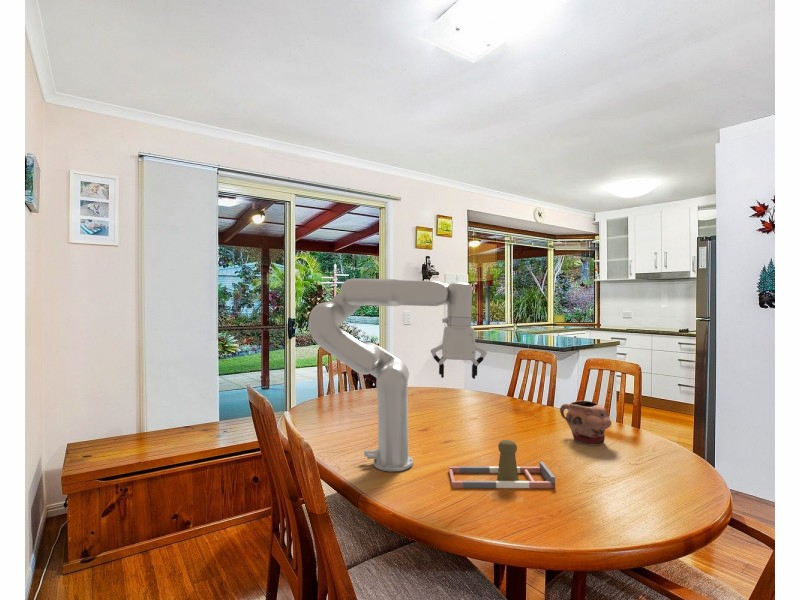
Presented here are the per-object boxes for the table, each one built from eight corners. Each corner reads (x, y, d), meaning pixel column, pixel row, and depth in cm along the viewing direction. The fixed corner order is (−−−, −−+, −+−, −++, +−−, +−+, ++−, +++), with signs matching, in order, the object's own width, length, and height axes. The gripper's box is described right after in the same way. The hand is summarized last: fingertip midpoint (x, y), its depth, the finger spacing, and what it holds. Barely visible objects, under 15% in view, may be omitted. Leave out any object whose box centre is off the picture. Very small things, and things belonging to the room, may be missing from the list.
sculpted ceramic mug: (549, 437, 158) (549, 399, 158) (567, 430, 165) (567, 395, 165) (603, 452, 142) (602, 410, 142) (620, 444, 149) (620, 404, 149)
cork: (503, 485, 118) (503, 445, 118) (493, 476, 124) (493, 438, 124) (522, 482, 119) (522, 443, 119) (512, 474, 125) (511, 436, 125)
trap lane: (452, 487, 117) (452, 476, 117) (448, 471, 128) (448, 461, 128) (555, 488, 116) (555, 477, 116) (542, 471, 127) (542, 461, 127)
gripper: (431, 322, 129) (430, 378, 129) (489, 324, 128) (487, 380, 128) (431, 321, 136) (429, 374, 136) (485, 322, 135) (484, 376, 135)
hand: (457, 377), depth 132 cm, fingers open, 9 cm apart
